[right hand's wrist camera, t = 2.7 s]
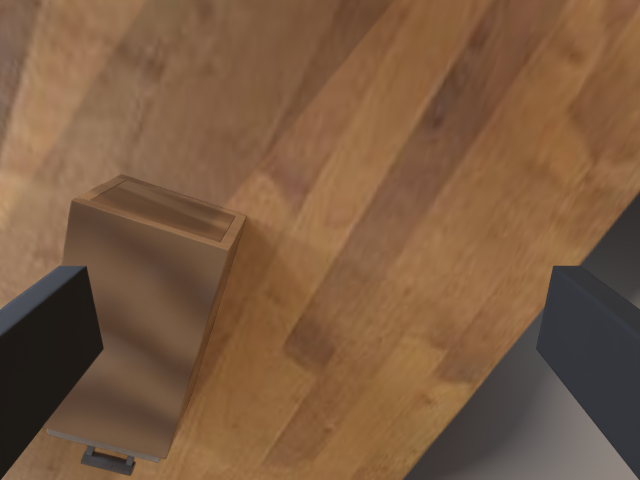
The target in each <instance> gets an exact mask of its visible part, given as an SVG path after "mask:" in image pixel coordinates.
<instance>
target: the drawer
mask: <svg viewBox="0 0 640 480" xmlns="http://www.w3.org/2000/svg"><path fill="white" fill-rule="evenodd" d="M47 435H50V436H54V437H58V438H62V439H66V440H70V441H74V442H78V443H82V444H86V445H88V446H87V450H86V451H85V453H84V455H83V457H82V460H81V464H84V465H88V466H92V467H96V468H100V469H104V470H108V471H112V472H116V473H120V474H124V475H128V476H131V474H132V472H133V470H134V467H135V465H136V462H135V461H134V458H135V457H137V458H141V459H145V460H149V461H153V462H157V463H159V461H160V459H161V458H159V457H155V456H151V455H147V454H143V453H140V452H136V451H132V450H128V449H124V448H120V447H116V446H112V445H108V444H104V443H100V442H97V441H93V440H89V439H85V438H81V437H77V436H73V435H69V434H65V433H61V432H57V431H54V430H50V429H48V433H47ZM95 447H98V448H101V449H105V450H109V451H113V452H117V453H121V454H125V455H128V458H127V459H123V458H119V457H115V456H111V455H107V454H103V453H99V452H95Z"/></svg>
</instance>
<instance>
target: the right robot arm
mask: <svg viewBox="0 0 640 480" xmlns="http://www.w3.org/2000/svg"><path fill="white" fill-rule="evenodd" d="M103 349H104V347H103V342H102V337H101V332H100V328H99V323H98V318H97V313H96V308H95V304H94V299H93V294H92V289H91V284H90V280H89V275H88V270H87V266H59V267H57V268H56V269H55V270H53V271H52V272H50V273H49V274H48V275H46V276H45V277H44V278H42V279H41V280H40V281H38V282H37V283H35V284H34V285H33V286H31V287H30V288H29V289H27V290H26V291H25V292H23V293H22V294H20V295H19V296H18V297H16V298H15V299H14V300H12V301H11V302H10V303H8V304H7V305H6V306H4V307H3V308H1V309H0V480H1V479H2V478H3V476H4V475H5V474H6V473H7V471H8V470H9V469H10V467H11V466H12V465H13V464H14V462H15V461H16V460H17V459H18V457H19V456H20V455H21V453H22V452H23V451H24V450H25V448H26V447H27V446H28V445H29V443H30V442H31V441H32V440H33V438H34V437H35V436H36V434H37V433H38V432H39V431H40V429H41V428H42V427H43V426H44V424H45V423H46V422H47V420H48V419H49V418H50V417H51V415H52V414H53V413H54V412H55V410H56V409H57V408H58V407H59V405H60V404H61V403H62V401H63V400H64V399H65V398H66V396H67V395H68V394H69V393H70V391H71V390H72V389H73V387H74V386H75V385H76V384H77V382H78V381H79V380H80V379H81V377H82V376H83V375H84V373H85V372H86V371H87V370H88V368H89V367H90V366H91V365H92V363H93V362H94V361H95V360H96V358H97V357H98V356H99V354H100V353H101V352H102V351H103ZM536 349H537V351H538V352H539V353H540V354H541V356H542V357H543V358H544V360H545V361H546V362H547V363H548V365H549V366H550V367H551V368H552V370H553V371H554V372H555V373H556V375H557V376H558V377H559V378H560V380H561V381H562V382H563V384H564V385H565V386H566V387H567V389H568V390H569V391H570V392H571V394H572V395H573V396H574V398H575V399H576V400H577V401H578V403H579V404H580V405H581V406H582V408H583V409H584V410H585V412H586V413H587V414H588V415H589V417H590V418H591V419H592V420H593V422H594V423H595V424H596V426H597V427H598V428H599V429H600V431H601V432H602V433H603V434H604V436H605V437H606V438H607V440H608V441H609V442H610V443H611V445H612V446H613V447H614V448H615V450H616V451H617V452H618V453H619V455H620V456H621V457H622V459H623V460H624V461H625V462H626V464H627V465H628V466H629V467H630V469H631V470H632V471H633V473H634V474H635V475H636V476H637V478H638V479H639V480H640V309H639V308H637V307H636V306H634V305H633V304H632V303H630V302H629V301H628V300H626V299H625V298H624V297H622V296H621V295H619V294H618V293H617V292H615V291H614V290H613V289H611V288H610V287H609V286H607V285H606V284H604V283H603V282H602V281H600V280H599V279H598V278H596V277H595V276H594V275H592V274H591V273H589V272H588V271H587V270H585V269H584V268H583V267H581V266H553V270H552V275H551V280H550V284H549V289H548V294H547V299H546V304H545V308H544V313H543V318H542V323H541V328H540V332H539V337H538V342H537V347H536Z"/></svg>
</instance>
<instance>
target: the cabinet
mask: <svg viewBox="0 0 640 480" xmlns="http://www.w3.org/2000/svg"><path fill="white" fill-rule="evenodd" d="M246 217H247V216H245V215H242V214H239V213H236V212H233V211H230V210H227V209H224V208H221V207H218V206H215V205H212V204H209V203H206V202H203V201H200V200H197V199H194V198H191V197H188V196H185V195H182V194H179V193H176V192H173V191H170V190H167V189H164V188H161V187H158V186H155V185H151V184H148V183H145V182H142V181H139V180H136V179H133V178H130V177H127V176H124V175H119V176H117V177H115V178H113V179H111V180H110V181H108V182H106V183H104V184H102V185H100V186H98V187H96V188H94V189H92V190H90V191H88V192H86V193H84V194H82V195H80V196H78V197H76V198H74V199H72V200H71V206H70V212H69V219H68V225H67V231H66V238H65V244H64V251H63V257H62V264H61V266H87V270H88V275H89V280H90V284H91V289H92V294H93V299H94V304H95V308H96V313H97V318H98V323H99V328H100V332H101V337H102V342H103V347H104V349H103V351H102V352H101V353H100V354H99V356H98V357H97V358H96V360H95V361H94V362H93V363H92V365H91V366H90V367H89V368H88V370H87V371H86V372H85V373H84V375H83V376H82V377H81V379H80V380H79V381H78V382H77V384H76V385H75V386H74V387H73V389H72V390H71V391H70V393H69V394H68V395H67V396H66V398H65V399H64V400H63V401H62V403H61V404H60V405H59V407H58V408H57V409H56V410H55V412H54V413H53V414H52V415H51V417H50V418H49V419H48V420H47V422H46V423H45V424H44V426H43V427H42V428H46V429H50V430H54V431H57V432H61V433H65V434H69V435H73V436H77V437H81V438H85V439H89V440H93V441H97V442H100V443H104V444H108V445H112V446H116V447H120V448H124V449H128V450H132V451H136V452H140V453H143V454H147V455H151V456H155V457H159V458H163V459H166V458H167V456H168V453H169V451H170V448H171V446H172V443H173V441H174V438H175V436H176V433H177V431H178V428H179V426H180V423H181V421H182V418H183V416H184V413H185V411H186V408H187V406H188V403H189V401H190V398H191V395H192V392H193V389H194V386H195V382H196V379H197V376H198V373H199V369H200V366H201V363H202V360H203V356H204V353H205V350H206V347H207V344H208V340H209V337H210V334H211V331H212V327H213V324H214V321H215V318H216V314H217V311H218V308H219V305H220V301H221V298H222V295H223V292H224V288H225V285H226V282H227V279H228V276H229V272H230V269H231V266H232V263H233V259H234V256H235V253H236V250H237V246H238V243H239V240H240V237H241V233H242V230H243V227H244V224H245V220H246Z"/></svg>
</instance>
